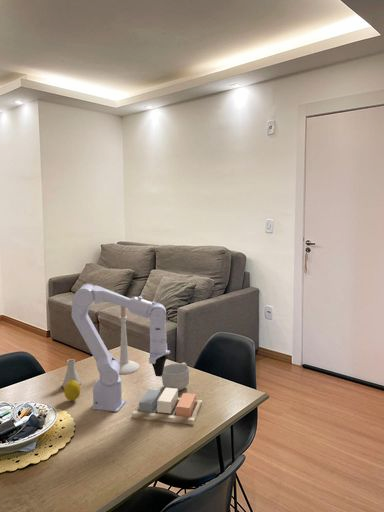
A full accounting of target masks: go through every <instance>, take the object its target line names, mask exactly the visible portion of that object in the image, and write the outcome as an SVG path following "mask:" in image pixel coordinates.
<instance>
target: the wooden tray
mask: <svg viewBox="0 0 384 512" xmlns="http://www.w3.org/2000/svg"><path fill="white" fill-rule="evenodd" d="M180 399H181V397H178V400H177V402H176V404H178V402H179V400H180ZM202 405H203V400H202V399H196V406H195V408H194V410H193V413H192V415H191V417H182V416H176V408H175V409H174V411H173V412H172V413H171V414H166V413H159V412H157V408H156V409H155V411H154V412H153V413H148V412H139V403H138V404H136V406H135V408H134V409H133V411H132V412H131V418H135V419H143V420H149V421H151V420H152V421H159V422H160V421H161V422H168V423H177V424H186V425H192V426H193V425H195V423H196V420H197V417H198V416H199V413H200V410H201V408H202Z"/></svg>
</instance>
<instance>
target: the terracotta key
mask: <svg viewBox="0 0 384 512" xmlns="http://www.w3.org/2000/svg"><path fill="white" fill-rule="evenodd" d="M180 398H181V399H180V400H179V402H178V404H177V403H176V404H177V405H175V409H176V416H182V417H192V414H193V412H194V410H195V408H196V400H197V394H196V393H188V392H183V393H182V395H181V397H180Z"/></svg>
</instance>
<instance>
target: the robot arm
mask: <svg viewBox="0 0 384 512" xmlns="http://www.w3.org/2000/svg"><path fill="white" fill-rule="evenodd" d="M93 302H94V304H95V305H96V304H99V303H102V302H107V303H109V304H113V305H117V306H120V307H121V306H123V307H125V308H127V310H128V312H129V314H130V313H131V314H134V315H137V316H139V317H142V318H145V319H149V320H150V326H149V343H150V344H149V347H150V348H149V357H148V363H149V364H151V365H152V368H153V371H154V374H155V377H158V378H159V377H161V378H162V374H163V370H164V366H166V365H165V364H166V361H167V359H168V356H169V354H171V350H168V343H167V324H166V323H167V320H166V319H167V316H168V315H167V310H166V309H167V308H166V307H165V305H163V304H162V303H161V302H155V301H150V300H146V299H144V298H143V297H142V296H141V295H139V296H133V297H128V296H126V295H125V296H124V295H122V294H120V293H117V292H115V291H112V290H110V289H107V288H105V287H102V286H99V285H94V284H93V283H84V284H83V285H81V287H80V288H78V290H77V291H75V293H74V295H73V297H72V299H71V319H72V320H73V322H74V324H75V327H76V328H77V329H78V331H79V333H80V335H81V337H82V338H83V340H84V342H85V344H86V346H87V347H88V350H89V351H90V352H91V355H92V356H93V358H94V360H95V362H96V368H97V371H98V373H99V379H96V380H95V382H94V384H93V388H92V400H93V401H92V405H93V406H92V409H93V410H99V411H109V412H116V413H117V412H119V411H120V409H121V408H122V407H123V405H124V404H125V403H126V401H127V400H126V399H123V397H122V396H123V395H122V393H123V392H122V391H123V390H122V378H121V377H120V374H119V372H120V369H121V364H120V362H119V361H120V360H118V359H116V358H115V357H114V355H113V354H112V353H111V352H109V350H108V348H107V347H106V345H105V343H104V340H103V339H102V338H101V336H100V334H99V332H98V330H97V328H96V327H95V325H94V323H93V321H92V319H91V318H90V316H89V311H90V308H91V305H92V304H93Z"/></svg>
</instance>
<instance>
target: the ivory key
mask: <svg viewBox="0 0 384 512" xmlns="http://www.w3.org/2000/svg"><path fill="white" fill-rule="evenodd" d="M178 398H179V391H178V389H175V388H166V387H164V389H163V391H162V393H160V397H159V399H158V400H157V412H158V413H161V414H172V413H173V412H172V411H173V410H174V408H175V407H176V404H177V403H176V402H177V400H178Z"/></svg>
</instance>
